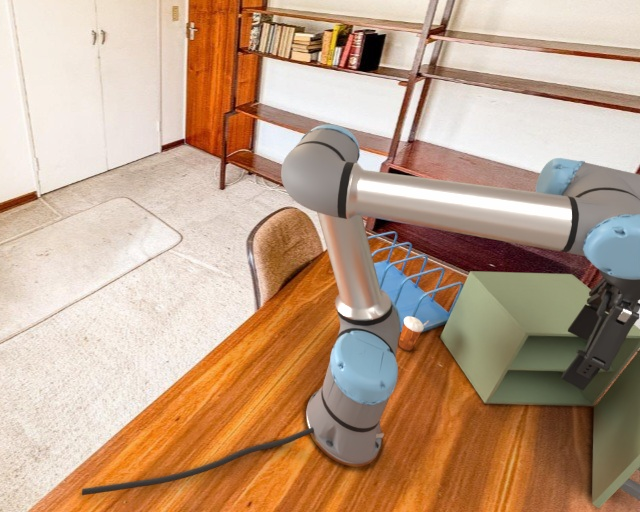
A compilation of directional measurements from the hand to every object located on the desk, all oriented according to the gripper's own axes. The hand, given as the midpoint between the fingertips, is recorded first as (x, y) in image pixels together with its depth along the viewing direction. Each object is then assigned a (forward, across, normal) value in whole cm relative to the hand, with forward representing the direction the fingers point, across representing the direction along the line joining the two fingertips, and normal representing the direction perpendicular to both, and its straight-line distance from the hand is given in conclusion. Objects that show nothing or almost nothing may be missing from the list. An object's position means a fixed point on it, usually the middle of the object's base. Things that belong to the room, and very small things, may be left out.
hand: (574, 357), depth 69 cm
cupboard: (+30, +25, +2) cm, 39 cm away
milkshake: (+31, +12, +23) cm, 40 cm away
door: (+30, +14, -17) cm, 37 cm away
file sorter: (+31, +28, +32) cm, 52 cm away
